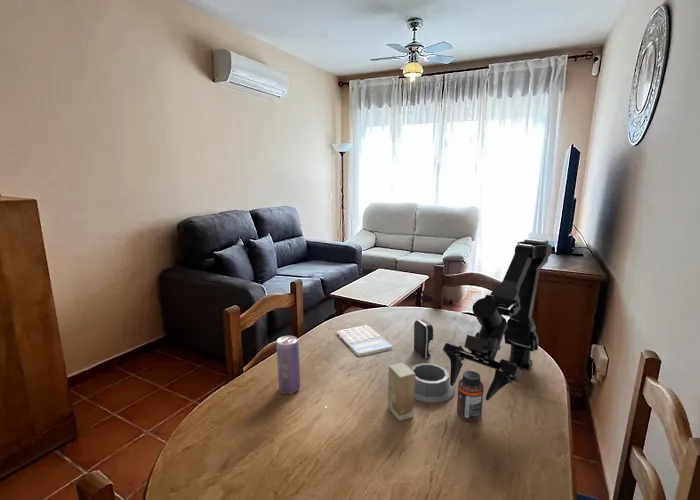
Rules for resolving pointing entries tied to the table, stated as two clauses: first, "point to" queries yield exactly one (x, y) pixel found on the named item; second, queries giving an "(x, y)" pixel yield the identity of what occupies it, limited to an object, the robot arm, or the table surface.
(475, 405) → the supplement bottle
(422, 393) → the grey round holder
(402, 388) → the skincare box
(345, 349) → the table surface
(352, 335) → the calculator
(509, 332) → the robot arm
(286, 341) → the beverage can
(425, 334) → the battery charger
